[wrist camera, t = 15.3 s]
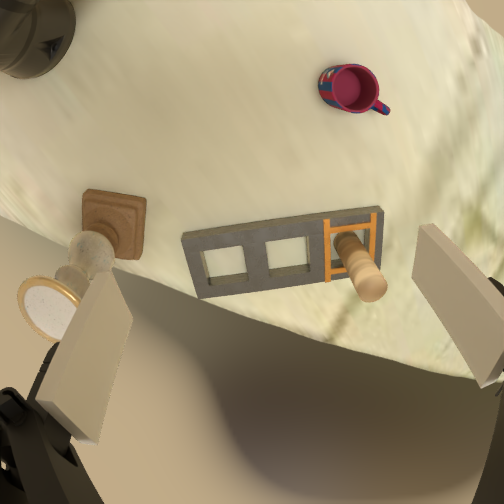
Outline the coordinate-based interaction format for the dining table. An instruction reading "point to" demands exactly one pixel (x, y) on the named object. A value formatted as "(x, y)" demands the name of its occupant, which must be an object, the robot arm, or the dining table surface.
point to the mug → (351, 89)
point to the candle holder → (84, 260)
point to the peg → (360, 267)
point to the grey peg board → (278, 229)
